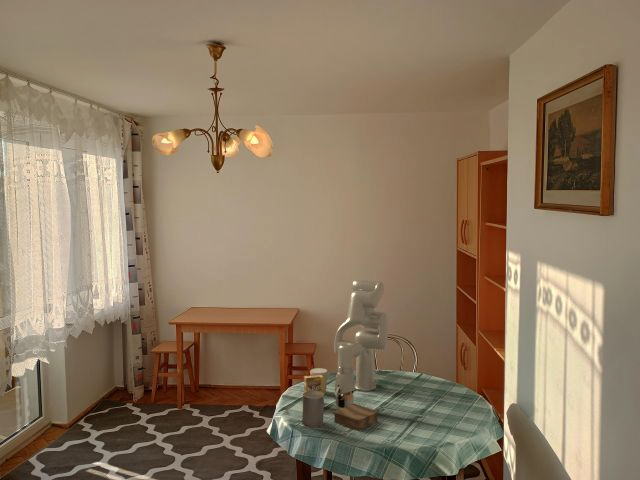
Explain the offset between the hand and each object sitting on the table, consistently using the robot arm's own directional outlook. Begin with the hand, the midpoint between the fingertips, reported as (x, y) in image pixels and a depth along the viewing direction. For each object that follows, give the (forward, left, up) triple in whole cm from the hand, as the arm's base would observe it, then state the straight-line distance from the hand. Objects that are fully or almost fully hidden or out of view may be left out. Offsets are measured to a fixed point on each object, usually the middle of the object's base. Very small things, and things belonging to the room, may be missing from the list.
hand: (344, 405), depth 287 cm
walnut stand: (+11, +16, -1) cm, 19 cm away
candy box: (+10, -12, -1) cm, 16 cm away
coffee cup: (-7, -24, -1) cm, 25 cm away
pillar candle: (+26, +3, -1) cm, 26 cm away
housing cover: (0, 0, +4) cm, 4 cm away
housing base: (0, 0, -1) cm, 1 cm away
